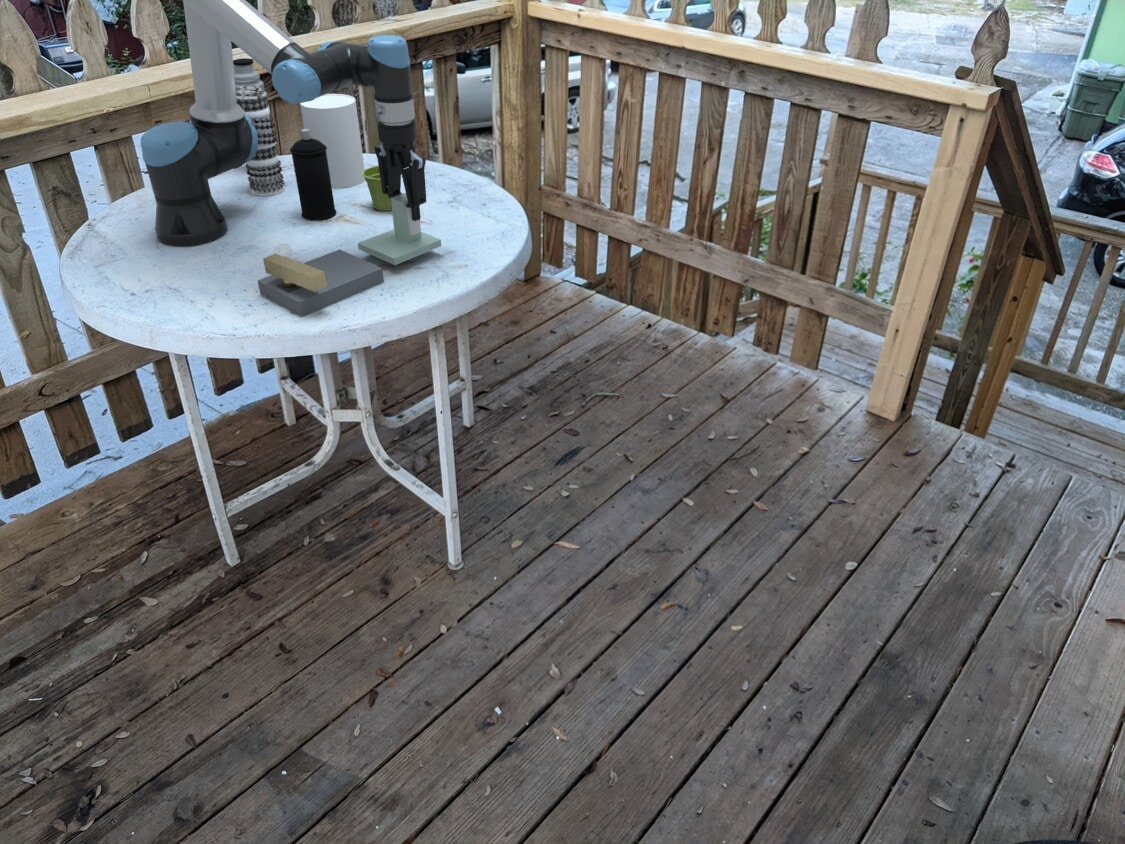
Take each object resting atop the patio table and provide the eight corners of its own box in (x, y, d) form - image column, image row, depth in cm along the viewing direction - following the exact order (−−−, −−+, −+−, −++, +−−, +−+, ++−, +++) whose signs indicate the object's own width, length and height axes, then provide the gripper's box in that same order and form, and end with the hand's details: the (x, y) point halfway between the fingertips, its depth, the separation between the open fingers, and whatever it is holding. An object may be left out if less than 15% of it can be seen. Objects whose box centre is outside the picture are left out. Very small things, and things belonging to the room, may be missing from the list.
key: (316, 299, 162) (312, 277, 159) (267, 280, 168) (263, 258, 165) (328, 294, 164) (324, 271, 161) (279, 275, 170) (275, 253, 167)
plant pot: (402, 214, 205) (398, 178, 200) (363, 213, 205) (358, 178, 200) (408, 199, 213) (405, 165, 208) (371, 199, 213) (366, 164, 208)
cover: (358, 249, 184) (352, 202, 178) (405, 231, 192) (400, 185, 186) (394, 265, 177) (389, 217, 171) (441, 246, 185) (437, 199, 179)
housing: (260, 294, 170) (257, 279, 169) (341, 262, 183) (339, 248, 181) (301, 316, 163) (298, 301, 161) (383, 281, 175) (382, 267, 174)
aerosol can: (338, 218, 202) (325, 133, 191) (302, 222, 200) (287, 136, 189) (335, 206, 209) (322, 123, 197) (300, 209, 207) (285, 126, 195)
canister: (369, 170, 230) (359, 93, 218) (360, 188, 219) (350, 108, 207) (319, 170, 230) (306, 93, 218) (307, 188, 219) (294, 108, 207)
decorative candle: (241, 191, 217) (219, 89, 202) (270, 181, 223) (251, 81, 208) (265, 199, 212) (244, 95, 198) (294, 188, 218) (276, 87, 204)
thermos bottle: (243, 169, 230) (219, 59, 214) (270, 162, 234) (249, 54, 218) (257, 177, 225) (235, 65, 209) (285, 170, 230) (264, 59, 214)
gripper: (354, 116, 173) (368, 225, 186) (409, 133, 164) (420, 246, 177) (383, 108, 178) (395, 215, 191) (438, 124, 168) (447, 236, 182)
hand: (407, 230), depth 184 cm, fingers closed on cover, 4 cm apart
